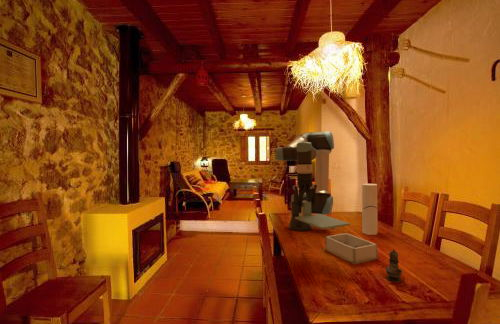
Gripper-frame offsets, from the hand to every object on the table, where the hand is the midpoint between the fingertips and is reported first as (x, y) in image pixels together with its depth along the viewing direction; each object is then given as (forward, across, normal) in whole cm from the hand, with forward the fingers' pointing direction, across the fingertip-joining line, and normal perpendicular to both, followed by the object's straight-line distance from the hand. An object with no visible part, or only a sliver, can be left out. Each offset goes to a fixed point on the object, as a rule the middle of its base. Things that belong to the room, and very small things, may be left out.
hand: (305, 218), depth 137 cm
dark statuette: (+17, +14, -40) cm, 46 cm away
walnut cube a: (+16, +15, -8) cm, 23 cm away
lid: (0, 0, -11) cm, 11 cm away
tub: (+17, +17, -13) cm, 27 cm away
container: (+17, +53, +9) cm, 57 cm away
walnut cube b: (+16, +20, -17) cm, 31 cm away
